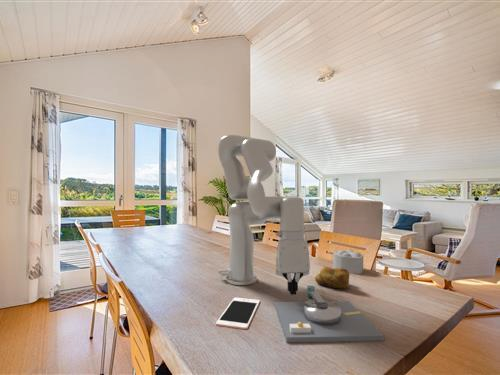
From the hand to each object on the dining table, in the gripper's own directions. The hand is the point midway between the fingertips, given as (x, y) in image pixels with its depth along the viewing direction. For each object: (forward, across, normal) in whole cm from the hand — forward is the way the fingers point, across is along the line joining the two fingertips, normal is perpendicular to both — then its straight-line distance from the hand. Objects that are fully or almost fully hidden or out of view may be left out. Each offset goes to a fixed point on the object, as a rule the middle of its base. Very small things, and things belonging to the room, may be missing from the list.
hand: (292, 293), depth 83 cm
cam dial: (+3, +6, -7) cm, 9 cm away
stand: (+4, +6, -10) cm, 13 cm away
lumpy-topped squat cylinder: (+4, +34, +38) cm, 51 cm away
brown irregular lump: (+4, +19, +18) cm, 26 cm away
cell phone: (+4, -17, -4) cm, 18 cm away
